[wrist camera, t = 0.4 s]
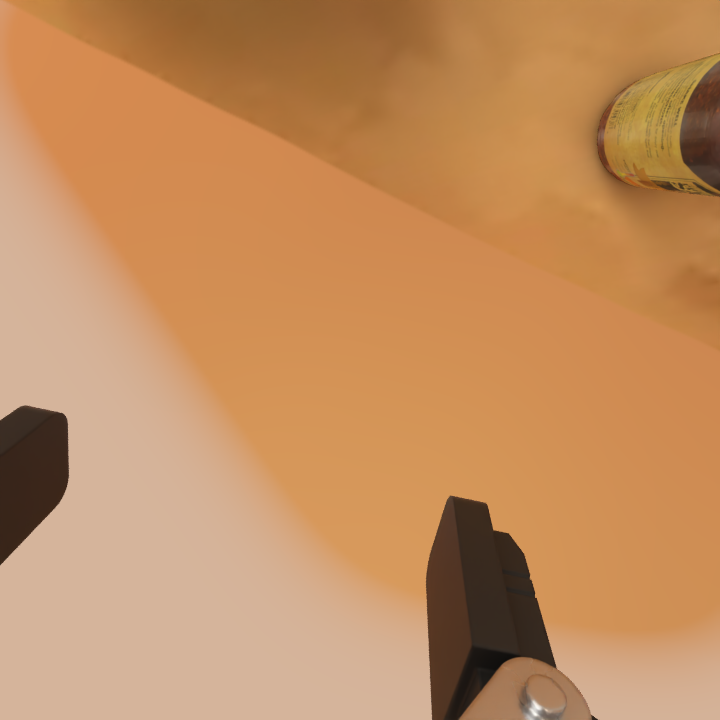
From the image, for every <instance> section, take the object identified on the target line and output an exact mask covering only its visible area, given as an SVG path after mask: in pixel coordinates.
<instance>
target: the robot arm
mask: <svg viewBox="0 0 720 720" xmlns="http://www.w3.org/2000/svg"><path fill="white" fill-rule="evenodd" d="M68 464H69V463H68V423H67V418H66V416H65V415H64V414H63V413H59V412H54V411H50V410H45V409H40V408H35V407H31V406H21V407H19V408H17V409H16V410H15V411H13V412H12V413H10V414H9V415H7V416H6V417H4V418H3V419H2V420H0V565H1V564H2V563H3V562H4V561H5V560H6V559H7V558H8V556H9V555H10V554H11V553H12V552H13V551H14V550H15V549H16V548H17V547H18V546H19V545H20V544H21V543H22V542H23V541H24V540H25V539H26V538H27V537H28V536H29V535H30V534H31V532H32V531H33V530H34V529H35V528H36V527H37V526H38V525H39V524H40V523H41V522H42V521H43V520H44V519H45V518H46V517H47V516H48V515H49V514H50V512H52V510H53V509H54V508H55V507H56V506H57V505H58V504H59V502H60V501H61V499H62V497H63V495H64V493H65V490H66V487H67V483H68V478H69V465H68ZM426 591H427V592H426V593H427V614H428V638H429V659H430V681H431V703H432V720H598V719H596V718H595V717H594V716H592V715H591V714H590V710H589V707H588V705H587V703H586V701H585V699H584V697H583V695H582V694H581V692H580V691H579V690H578V688H577V687H576V686H575V685H574V684H573V683H572V681H571V680H570V679H569V678H567V677H566V676H565V675H564V674H563V673H562V672H560V671H559V670H557V668H556V664H555V661H554V657H553V654H552V650H551V647H550V643H549V640H548V636H547V633H546V629H545V626H544V622H543V619H542V615H541V612H540V609H539V605H538V601H537V598H535V591H534V587H533V584H532V581H531V580H530V573H529V570H528V566H527V563H526V559H525V556H524V553H523V552H522V551H521V549H520V548H519V547H518V546H517V544H516V543H515V541H514V540H513V539H512V537H511V536H510V535H509V534H508V533H503V532H499V531H494V530H493V527H492V523H491V518H490V514H489V509H488V506H487V504H486V503H483V502H479V501H474V500H469V499H464V498H459V497H455V496H450V497H449V498H448V499H447V502H446V505H445V508H444V511H443V514H442V517H441V521H440V524H439V527H438V530H437V533H436V537H435V540H434V543H433V546H432V550H431V553H430V557H429V561H428V568H427V576H426Z"/></svg>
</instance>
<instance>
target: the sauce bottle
mask: <svg viewBox="0 0 720 720" xmlns="http://www.w3.org/2000/svg"><path fill="white" fill-rule="evenodd" d="M597 146H598V153H599V156H600V159H601V161H602V163H603V165H604V166H605V168H606V169H607V170H608V171H609V172H611V174H613V175H614V176H615V177H616V178H617V179H619V180H621V181H623V182H626V183H628V184H630V185H633V186H636V187H641V188H649V189H658V190H666V191H675V192H679V193H690V194H699V195H707V196H719V197H720V53H718V54H715V55H712V56H709V57H705V58H702V59H699V60H696V61H693V62H689V63H686V64H683V65H680V66H677V67H674V68H670V69H668V70H665V71H661V72H658V73H654V74H653V75H650V76H647V77H645V78H643V79H641V80H638V81H636V82H634V83H633V84H631V85H630V86H628V87H627V88H625V89H624V90H623V91H622V92H621V93H620V94H619V95H617V96H616V97H615V99H614V101H613V102H612V103H611V104H610V106H609V107H608V108H607V109H606V111H605V113H604V114H603V116H602V118H601V120H600V125H599V129H598V138H597Z"/></svg>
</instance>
